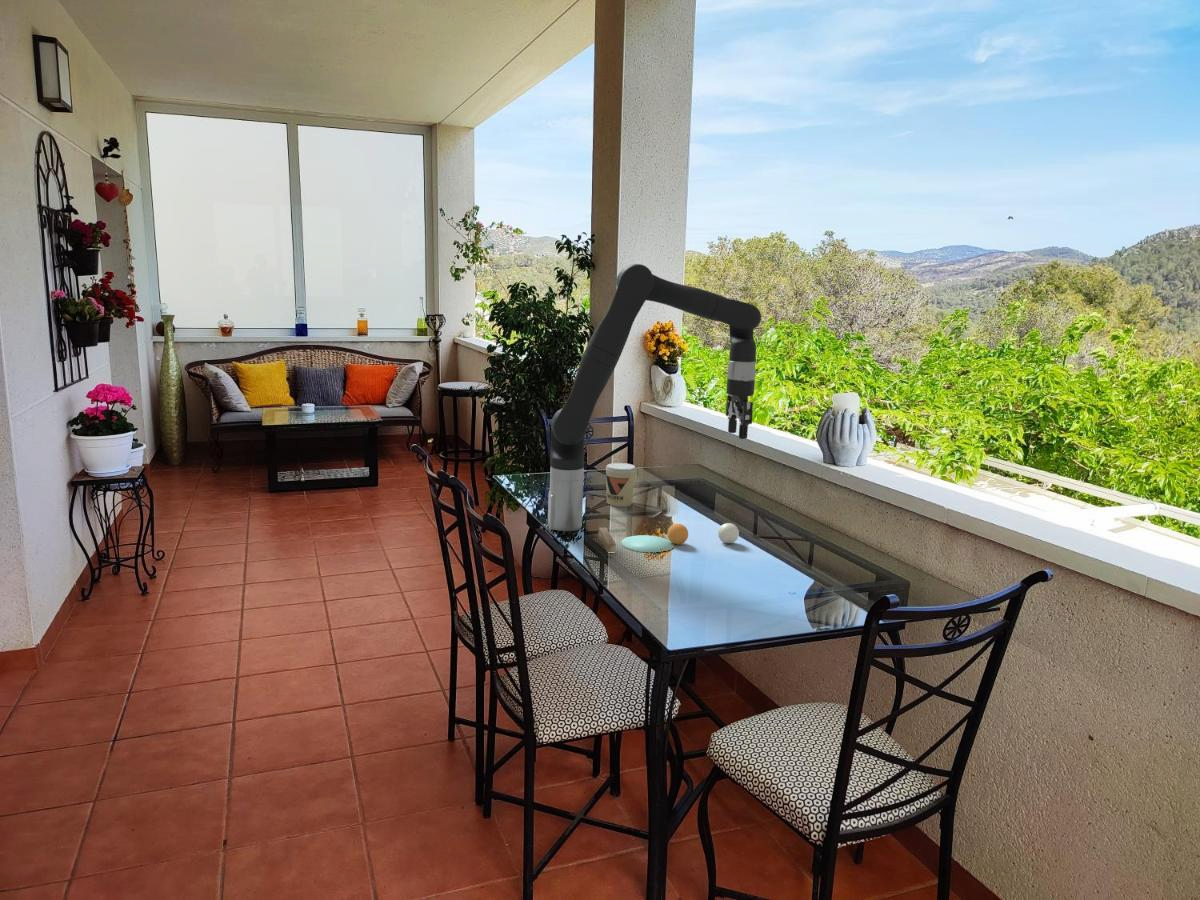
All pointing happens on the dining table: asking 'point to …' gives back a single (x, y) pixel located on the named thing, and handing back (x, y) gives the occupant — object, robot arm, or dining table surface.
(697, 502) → the dining table surface
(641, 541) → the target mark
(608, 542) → the brown wooden bar
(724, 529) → the cue ball
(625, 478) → the coffee cup
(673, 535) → the object ball
